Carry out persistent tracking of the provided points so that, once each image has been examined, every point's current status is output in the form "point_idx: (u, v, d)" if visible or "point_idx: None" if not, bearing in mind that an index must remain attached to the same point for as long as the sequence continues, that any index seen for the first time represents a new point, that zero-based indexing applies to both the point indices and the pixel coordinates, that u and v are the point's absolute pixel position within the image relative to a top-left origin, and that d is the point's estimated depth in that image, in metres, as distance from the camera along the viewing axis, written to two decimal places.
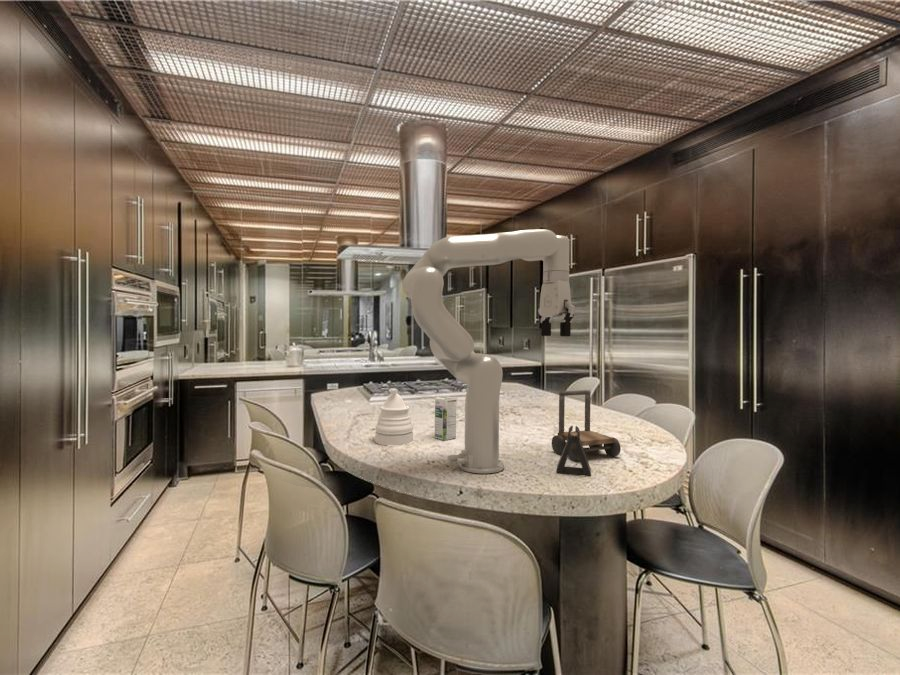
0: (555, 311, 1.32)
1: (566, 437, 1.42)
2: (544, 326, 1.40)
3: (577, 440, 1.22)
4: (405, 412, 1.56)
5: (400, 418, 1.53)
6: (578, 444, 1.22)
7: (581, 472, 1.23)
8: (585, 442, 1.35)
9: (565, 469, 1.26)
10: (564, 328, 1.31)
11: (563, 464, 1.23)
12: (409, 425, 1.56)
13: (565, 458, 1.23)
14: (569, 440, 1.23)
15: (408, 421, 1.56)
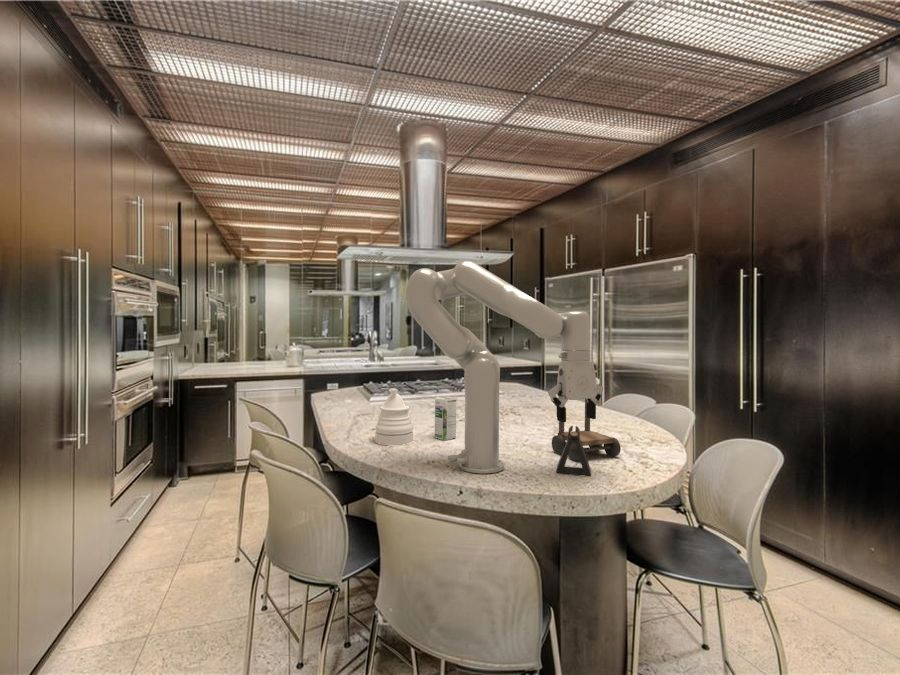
0: (594, 394, 1.24)
1: (566, 437, 1.42)
2: None
3: (577, 440, 1.22)
4: (405, 412, 1.56)
5: (400, 418, 1.53)
6: (578, 444, 1.22)
7: (581, 472, 1.23)
8: (585, 442, 1.35)
9: (565, 469, 1.26)
10: None
11: (563, 464, 1.23)
12: (409, 425, 1.56)
13: (565, 458, 1.23)
14: (569, 440, 1.23)
15: (408, 421, 1.56)
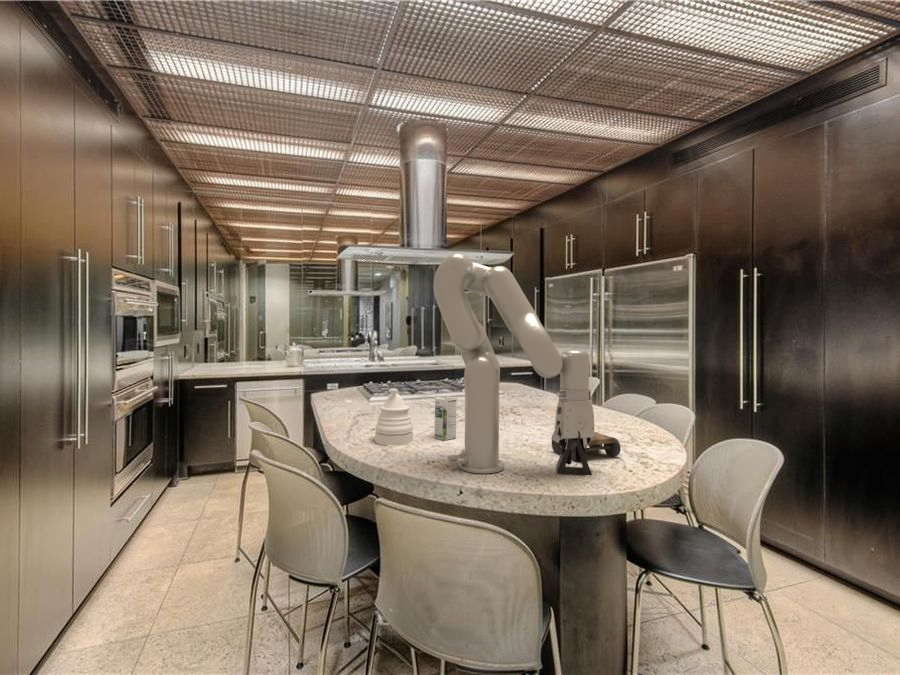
0: (592, 433, 1.24)
1: None
2: None
3: (578, 440, 1.22)
4: (405, 412, 1.56)
5: (400, 418, 1.53)
6: (579, 444, 1.22)
7: (581, 472, 1.24)
8: None
9: (565, 469, 1.26)
10: None
11: (564, 464, 1.23)
12: (409, 425, 1.56)
13: (566, 458, 1.23)
14: (570, 440, 1.23)
15: (408, 421, 1.56)
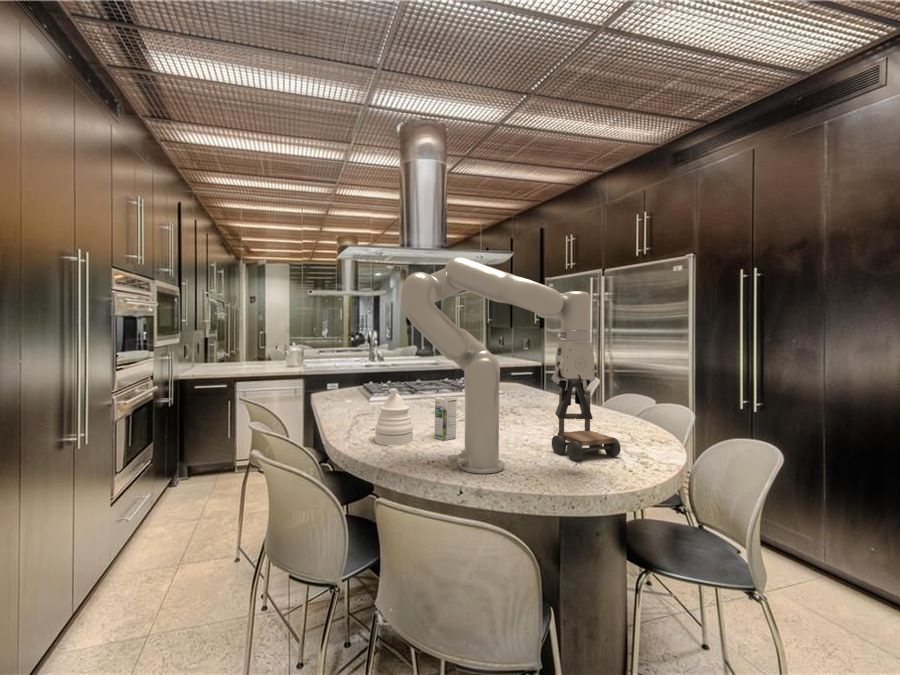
0: (592, 374, 1.24)
1: (566, 437, 1.42)
2: None
3: (579, 384, 1.22)
4: (405, 412, 1.56)
5: (400, 418, 1.53)
6: (580, 388, 1.22)
7: (582, 416, 1.24)
8: (585, 442, 1.35)
9: (565, 415, 1.25)
10: None
11: (565, 409, 1.23)
12: (409, 425, 1.56)
13: (567, 403, 1.22)
14: (571, 384, 1.22)
15: (408, 421, 1.56)
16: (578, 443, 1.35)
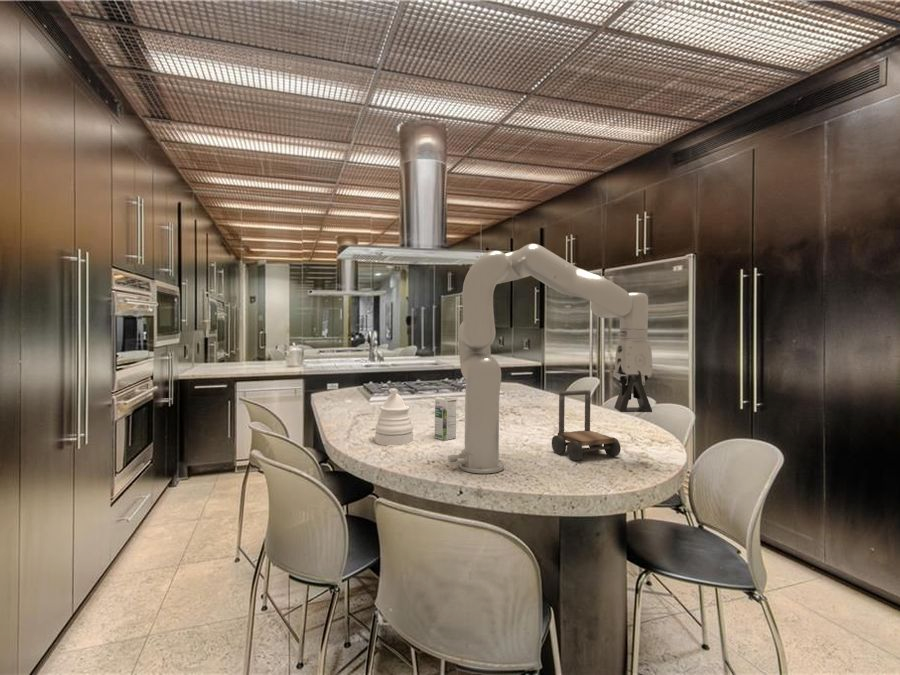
0: (650, 370, 1.32)
1: (566, 437, 1.42)
2: None
3: (639, 379, 1.30)
4: (405, 412, 1.56)
5: (400, 418, 1.53)
6: (640, 383, 1.30)
7: (641, 409, 1.32)
8: (585, 442, 1.35)
9: None
10: None
11: (626, 403, 1.31)
12: (409, 425, 1.56)
13: (628, 397, 1.31)
14: (631, 380, 1.31)
15: (408, 421, 1.56)
16: (578, 443, 1.35)
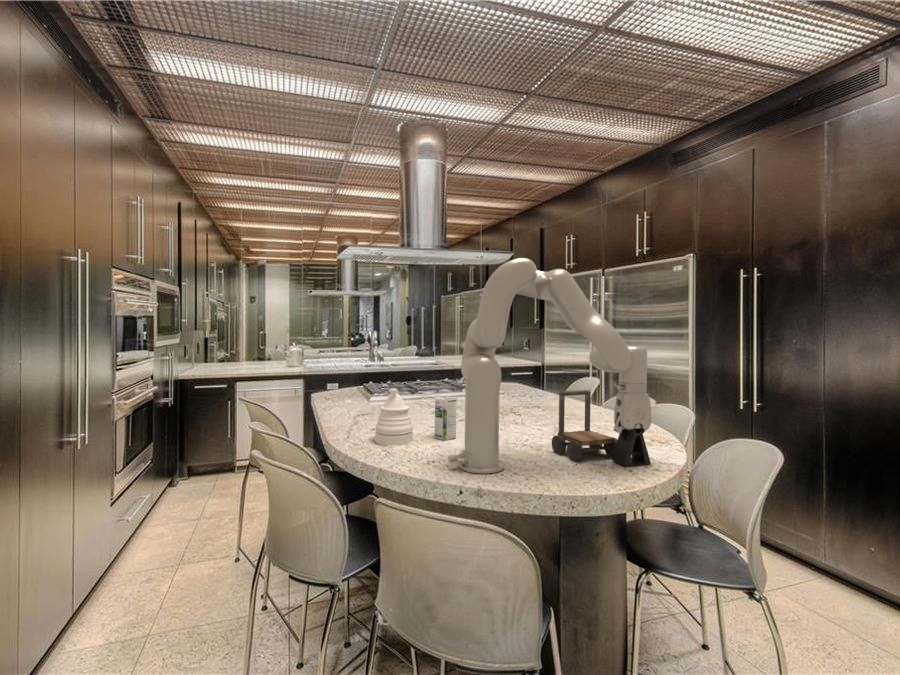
0: (649, 424, 1.32)
1: (566, 437, 1.42)
2: None
3: (641, 432, 1.31)
4: (405, 412, 1.56)
5: (400, 418, 1.53)
6: (641, 436, 1.31)
7: (639, 461, 1.33)
8: (585, 442, 1.35)
9: None
10: None
11: (629, 456, 1.30)
12: (409, 425, 1.56)
13: (631, 450, 1.30)
14: (635, 433, 1.30)
15: (408, 421, 1.56)
16: (578, 443, 1.35)
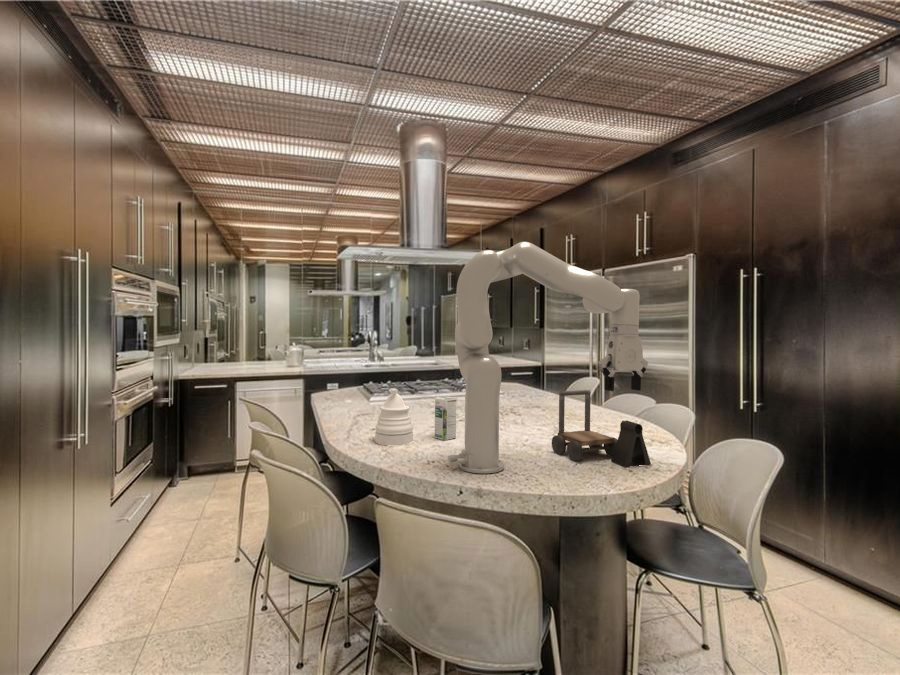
0: (640, 366, 1.33)
1: (566, 437, 1.42)
2: None
3: (641, 433, 1.31)
4: (405, 412, 1.56)
5: (400, 418, 1.53)
6: (641, 437, 1.31)
7: (640, 462, 1.33)
8: (585, 442, 1.35)
9: None
10: None
11: (630, 458, 1.30)
12: (409, 425, 1.56)
13: (631, 452, 1.30)
14: (635, 434, 1.30)
15: (408, 421, 1.56)
16: (578, 443, 1.35)
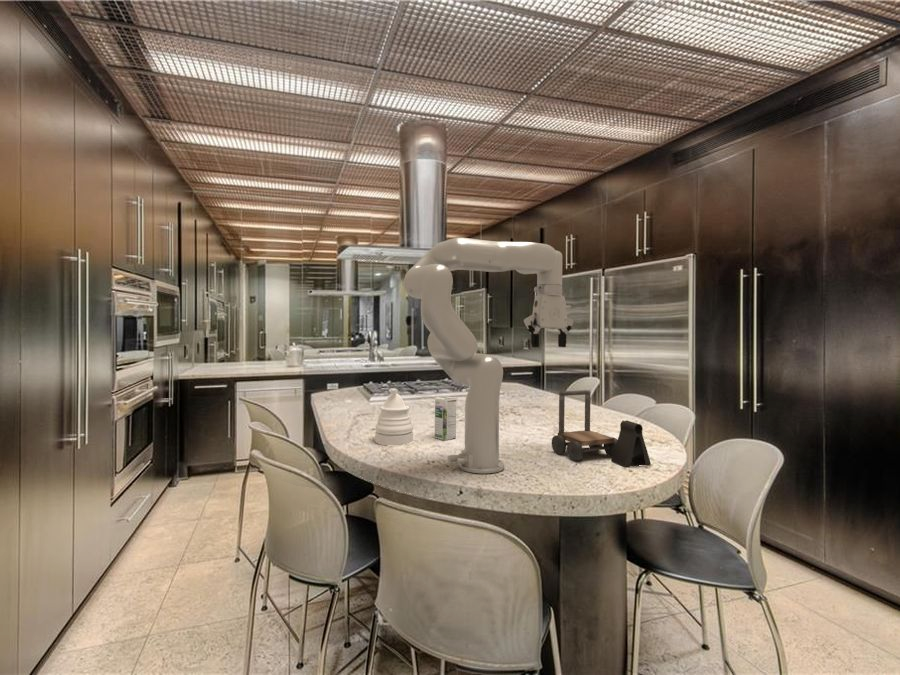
0: (565, 324, 1.41)
1: (566, 437, 1.42)
2: None
3: (641, 433, 1.31)
4: (405, 412, 1.56)
5: (400, 418, 1.53)
6: (641, 437, 1.31)
7: (640, 462, 1.33)
8: (585, 442, 1.35)
9: None
10: None
11: (630, 458, 1.30)
12: (409, 425, 1.56)
13: (631, 452, 1.30)
14: (635, 434, 1.30)
15: (408, 421, 1.56)
16: (578, 443, 1.35)
